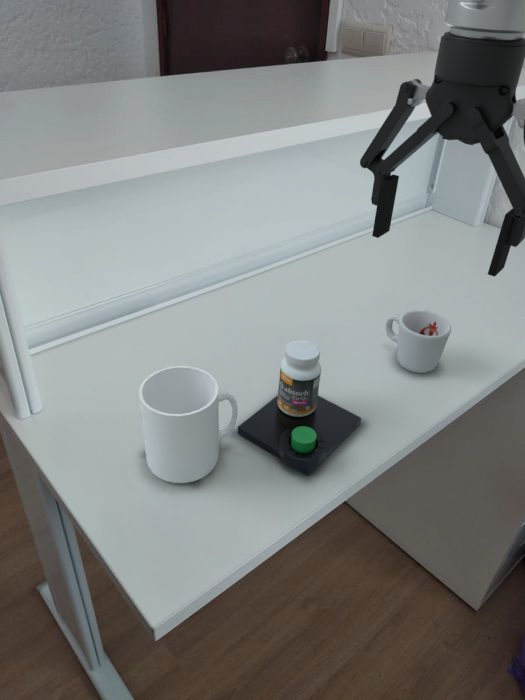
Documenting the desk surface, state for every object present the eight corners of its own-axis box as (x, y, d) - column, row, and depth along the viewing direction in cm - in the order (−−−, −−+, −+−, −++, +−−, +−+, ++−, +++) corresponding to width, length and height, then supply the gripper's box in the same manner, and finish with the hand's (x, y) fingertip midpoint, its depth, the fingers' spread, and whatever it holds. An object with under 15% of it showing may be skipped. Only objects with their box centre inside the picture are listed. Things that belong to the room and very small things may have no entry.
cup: (368, 354, 97) (375, 313, 92) (396, 337, 101) (405, 297, 97) (422, 385, 91) (432, 343, 86) (450, 365, 95) (461, 324, 90)
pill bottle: (272, 413, 82) (276, 356, 76) (283, 389, 86) (287, 334, 81) (311, 422, 81) (318, 365, 75) (320, 397, 85) (327, 342, 79)
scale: (363, 426, 82) (366, 410, 81) (307, 483, 73) (309, 467, 72) (292, 389, 89) (294, 373, 87) (232, 437, 79) (232, 421, 78)
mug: (133, 452, 76) (124, 383, 70) (209, 417, 83) (208, 350, 76) (169, 498, 70) (163, 427, 64) (249, 456, 77) (251, 388, 70)
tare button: (320, 443, 75) (321, 433, 74) (306, 457, 73) (307, 447, 72) (300, 432, 77) (301, 422, 76) (285, 445, 75) (286, 435, 74)
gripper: (344, 20, 55) (322, 229, 67) (630, 56, 43) (539, 303, 55) (382, 16, 60) (355, 211, 72) (649, 46, 48) (562, 276, 60)
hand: (435, 251), depth 64 cm, fingers open, 13 cm apart
